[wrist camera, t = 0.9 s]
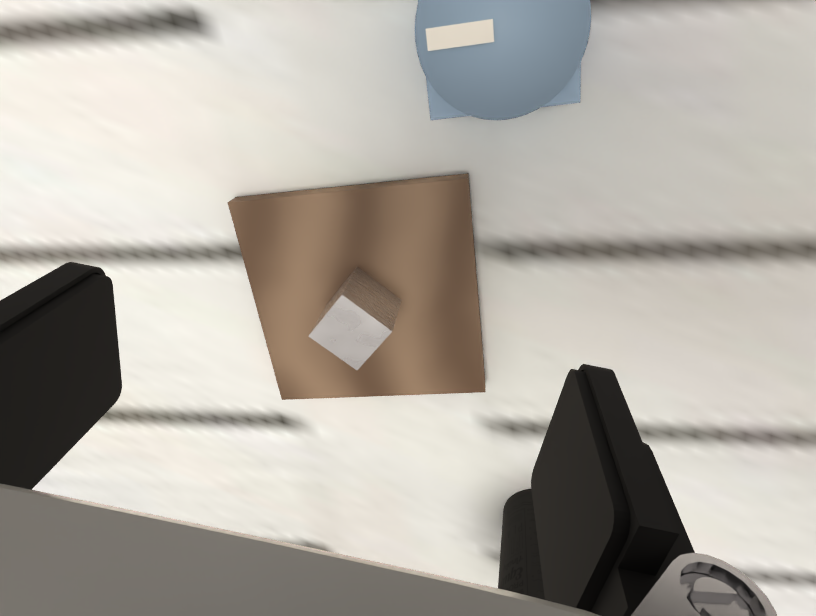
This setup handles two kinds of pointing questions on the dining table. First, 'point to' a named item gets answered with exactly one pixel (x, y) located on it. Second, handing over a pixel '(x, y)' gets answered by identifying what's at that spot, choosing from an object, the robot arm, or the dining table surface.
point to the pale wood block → (357, 319)
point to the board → (383, 261)
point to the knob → (501, 55)
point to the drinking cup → (520, 548)
